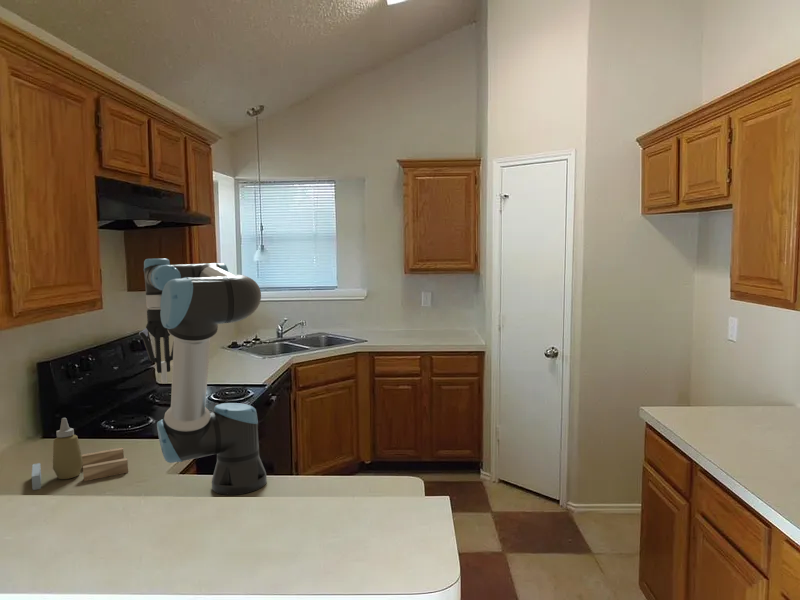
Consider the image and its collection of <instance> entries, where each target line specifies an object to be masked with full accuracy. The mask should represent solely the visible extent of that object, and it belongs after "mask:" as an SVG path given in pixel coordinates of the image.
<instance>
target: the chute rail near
mask: <svg viewBox="0 0 800 600" xmlns="http://www.w3.org/2000/svg"><path fill="white" fill-rule="evenodd" d="M128 461H129V460H128V458H127V457H124V458H123V459H118V460H112V461H107V462H102V463H96V464H91V465H86V466H83V469H82V474H83V482H87V481H92V480H96V479H102V478H106V477H112V476H117V475H123V474H126V473H129V465H128V464H129V463H128Z"/></svg>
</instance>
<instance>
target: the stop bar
mask: <svg viewBox="0 0 800 600" xmlns="http://www.w3.org/2000/svg"><path fill="white" fill-rule="evenodd" d="M31 467H32V468H31V487H32V491H36V490H40V489H42V469H41V462H38V463H33V464H32V466H31Z"/></svg>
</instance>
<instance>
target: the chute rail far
mask: <svg viewBox="0 0 800 600" xmlns="http://www.w3.org/2000/svg"><path fill="white" fill-rule="evenodd" d="M124 455H125V454H124V448H123V447H117V448H111V449H106V450H101V451H96V452H94V451H93V452H89V453H84V454H83V453H82V454H81V456H82V460H83V464H82V468H81V470H83V466H86V465H91V464H96V463H102V462H107V461H112V460H118V459H123V458H125V457H124Z"/></svg>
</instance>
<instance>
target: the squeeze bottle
mask: <svg viewBox="0 0 800 600" xmlns="http://www.w3.org/2000/svg"><path fill="white" fill-rule="evenodd" d="M60 421H61V422H60V428H59V430H56V438H54V439H53V443H52V444H53V445H52V446H53V447H52V451H53V452H52V469H53V471H54V473H55V475H56V477H57V479H59V480H68V479H72V478H76V477H78V476H79V475H80V474H81V471H82V464H83V460H82V456H81V455H82V452H81V447H80V441H79V438H78V437H79V436H78V435H76V434H75V430H74V429H75V428H72V427H70V426H69V423H68V419H67V418H66V417H62V418H61V420H60Z"/></svg>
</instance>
